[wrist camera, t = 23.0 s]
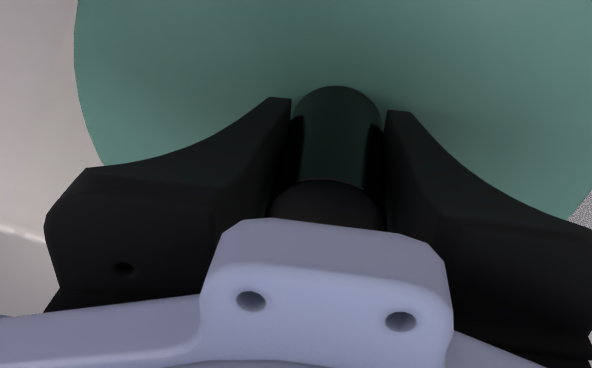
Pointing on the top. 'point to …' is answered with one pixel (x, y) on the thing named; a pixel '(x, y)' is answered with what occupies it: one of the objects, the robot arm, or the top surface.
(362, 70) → the tin lid
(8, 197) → the top surface
